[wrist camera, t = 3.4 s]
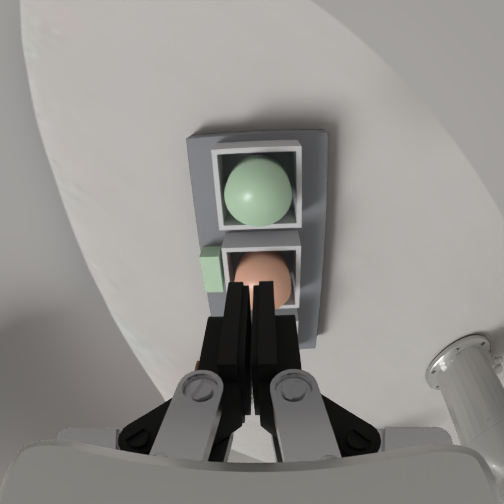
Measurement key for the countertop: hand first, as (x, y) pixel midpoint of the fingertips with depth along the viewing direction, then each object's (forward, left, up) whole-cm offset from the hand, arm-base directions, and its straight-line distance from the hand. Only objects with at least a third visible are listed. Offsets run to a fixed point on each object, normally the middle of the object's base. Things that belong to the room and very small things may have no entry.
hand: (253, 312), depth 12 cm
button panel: (0, +9, -20) cm, 21 cm away
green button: (0, 0, -16) cm, 16 cm away
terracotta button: (0, +9, -16) cm, 18 cm away
